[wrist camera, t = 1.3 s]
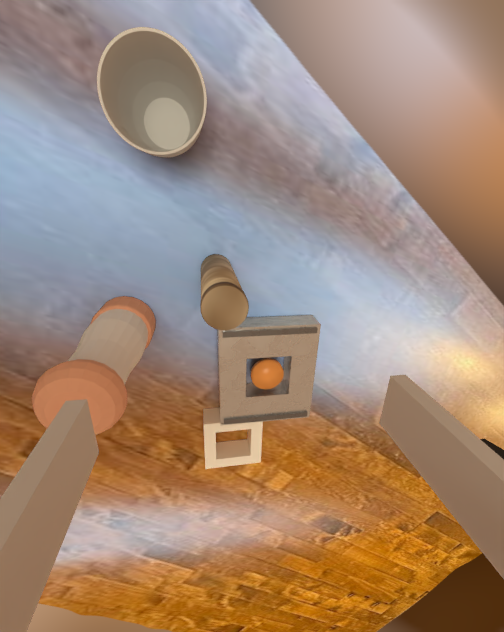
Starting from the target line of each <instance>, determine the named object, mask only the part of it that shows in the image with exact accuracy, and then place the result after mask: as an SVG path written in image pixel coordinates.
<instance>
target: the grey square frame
mask: <svg viewBox="0 0 504 632" xmlns="http://www.w3.org/2000/svg"><path fill="white" fill-rule="evenodd" d="M320 326H321V324H320V323H319V322H318V321H317V320H316V319H315V318H314V317H313V316H312V315H296V316H270V317H246V318H245V320H244V321H243V322H242V323H241V324H240V325H239V326H238V327H236V328H234V329H231V330H218V329H217V331H218V381H219V413H220V426H221V423H222V424H223V425H224V424H226V425H229V424H238V423H239V424H241V423H245V422H247V423H249V422H250V423H251V422H262V421H272V420H283V419H293V418H303V417H309V414H310V406H311V398H312V390H313V382H314V374H315V366H316V358H317V350H318V342H319V334H320ZM268 357H284V367H283V371H284V376H283V380H282V381H281V382H280V383H279V384H278V385H277V386H276V387H274V388H271V389H260V388H258V387H256V386H255V385H254V384H253V383H246V359H251V358H268Z"/></svg>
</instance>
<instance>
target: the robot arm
mask: <svg viewBox="0 0 504 632" xmlns="http://www.w3.org/2000/svg"><path fill="white" fill-rule="evenodd" d="M380 424H381V425H382V427H383V428H384V429H385V431H386V432H387V433H388V434H389V436H390V437H391V438H392V439H393V441H394V442H395V443H396V444H397V446H398V447H399V448H400V449H401V451H402V452H403V453H404V454H405V456H406V457H407V458H408V459H409V461H410V462H411V463H412V464H413V466H414V467H415V468H416V469H417V471H418V472H419V473H420V475H421V476H422V477H423V478H424V480H425V481H426V482H427V483H428V485H429V486H430V487H431V488H432V490H433V491H434V492H435V493H436V495H437V496H438V497H439V498H440V500H441V501H442V502H443V503H444V505H445V506H446V507H447V508H448V510H449V511H450V512H451V513H452V515H453V516H454V517H455V518H456V520H457V521H458V522H459V524H460V525H461V526H462V527H463V529H464V530H465V531H466V532H467V534H468V535H469V536H470V537H471V539H472V540H473V541H474V542H475V544H476V545H477V546H478V547H479V549H480V550H481V551H482V552H483V554H484V555H485V556H486V557H487V559H488V560H489V561H490V562H491V564H492V565H493V566H494V568H495V569H496V570H497V571H498V572H499V574H500V575H501V576H502V577H503V579H504V450H503V449H501V448H500V447H498V446H496V445H494V444H493V443H491V442H489V441H487V440H486V439H479V438H478V437H477V436H476V435H475V434H473V433H472V432H471V431H470V430H469V429H468V428H466V427H465V426H464V425H463V424H462V423H461V422H459V421H458V420H457V419H456V418H455V417H454V416H453V415H451V414H450V413H449V412H448V411H447V410H446V409H444V408H443V407H442V406H441V405H440V404H439V403H437V402H436V401H435V400H434V399H433V398H432V397H430V396H429V395H428V394H427V393H426V392H425V391H424V390H422V389H421V388H420V387H419V386H418V385H417V384H415V383H414V382H413V381H412V380H411V379H410V378H408V377H407V376H406V375H397V376H390V380H389V384H388V389H387V393H386V397H385V401H384V406H383V410H382V414H381V418H380ZM98 453H99V450H98V446H97V441H96V437H95V432H94V428H93V424H92V419H91V415H90V410H89V406H88V402H87V399H84V400H71V401H65V403H64V404H63V406H62V407H61V409H60V410H59V412H58V413H57V415H56V416H55V418H54V419H53V421H52V422H51V424H50V425H49V427H48V428H47V430H46V431H45V433H44V434H43V436H42V437H41V439H40V440H39V442H38V443H37V445H36V446H35V448H34V449H33V451H32V452H31V454H30V455H29V457H28V458H27V460H26V461H25V463H24V464H23V466H22V467H21V469H20V470H19V472H18V473H17V475H16V476H15V478H14V479H13V481H12V482H11V484H10V485H9V487H8V488H7V490H6V491H5V493H4V494H3V496H2V497H1V498H0V632H27V629H28V627H29V624H30V622H31V619H32V617H33V614H34V612H35V609H36V607H37V604H38V602H39V599H40V597H41V595H42V592H43V590H44V587H45V585H46V582H47V580H48V577H49V575H50V572H51V570H52V567H53V565H54V562H55V560H56V557H57V555H58V552H59V550H60V547H61V545H62V542H63V540H64V538H65V535H66V533H67V530H68V528H69V525H70V523H71V520H72V518H73V515H74V513H75V510H76V508H77V505H78V503H79V500H80V498H81V495H82V493H83V490H84V488H85V485H86V483H87V481H88V478H89V476H90V473H91V471H92V468H93V466H94V463H95V461H96V458H97V456H98Z"/></svg>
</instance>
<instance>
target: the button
mask: <svg viewBox="0 0 504 632" xmlns="http://www.w3.org/2000/svg"><path fill="white" fill-rule="evenodd" d="M283 376H284V371H283V368H282V366H281V364H280V363H279V362H278V361H277V360H275V359H272V358H264V359H261V360H259V361H257V362H256V363H255V364H254V365H253V367H252V369H251V379H252V382H253V384H254V385H255V386H256V387H258V388H260V389H271V388H274V387H276V386H277V385H278V384H279V383H280V382H281V381H282V379H283Z"/></svg>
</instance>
